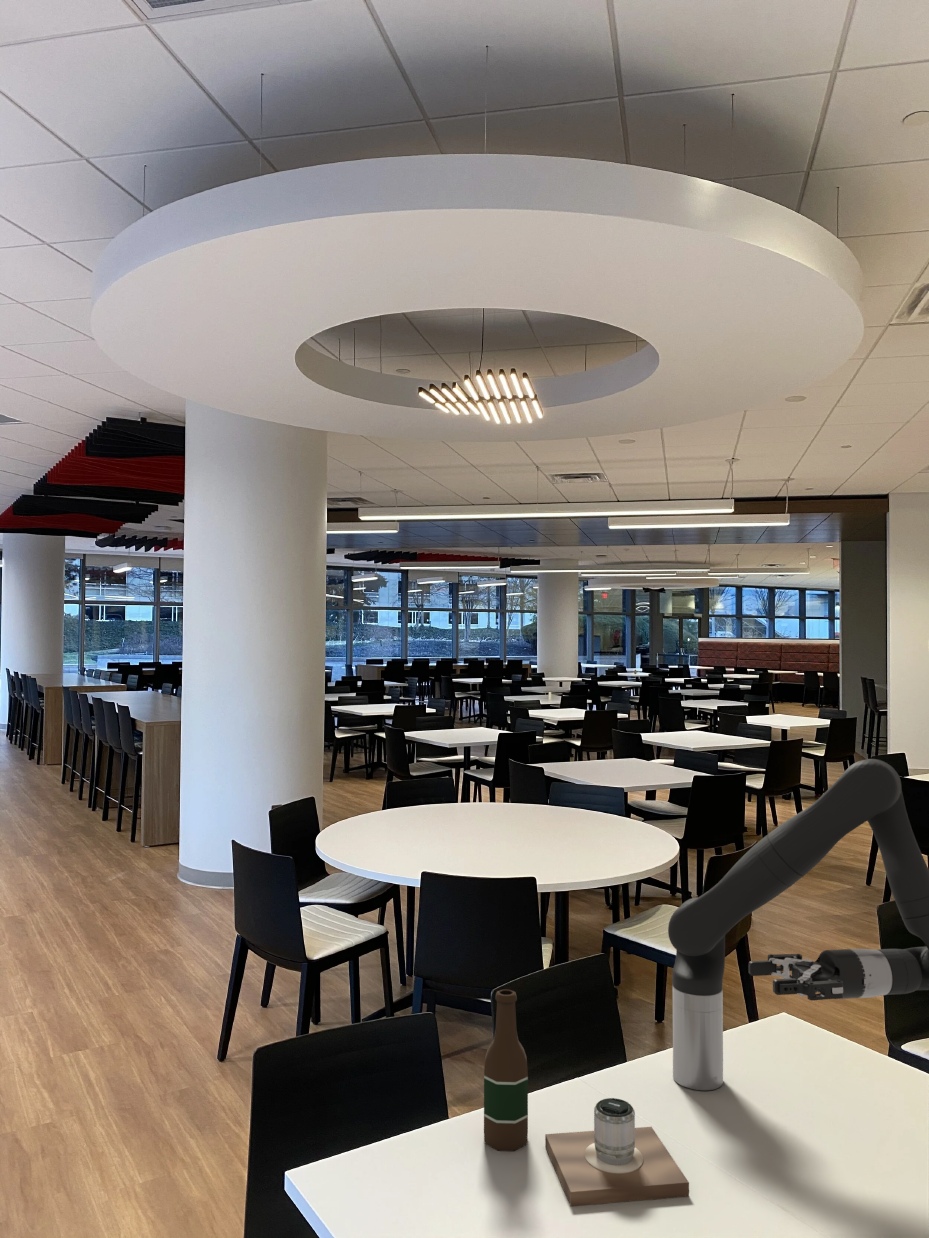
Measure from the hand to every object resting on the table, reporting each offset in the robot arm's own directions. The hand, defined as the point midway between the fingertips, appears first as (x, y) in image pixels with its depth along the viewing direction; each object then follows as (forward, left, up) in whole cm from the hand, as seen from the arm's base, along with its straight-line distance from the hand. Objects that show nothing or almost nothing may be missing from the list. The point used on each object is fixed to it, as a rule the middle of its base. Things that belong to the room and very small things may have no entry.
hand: (761, 977), depth 145 cm
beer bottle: (-10, -40, -28) cm, 50 cm away
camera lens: (+1, -25, -26) cm, 36 cm away
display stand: (+1, -25, -28) cm, 38 cm away
